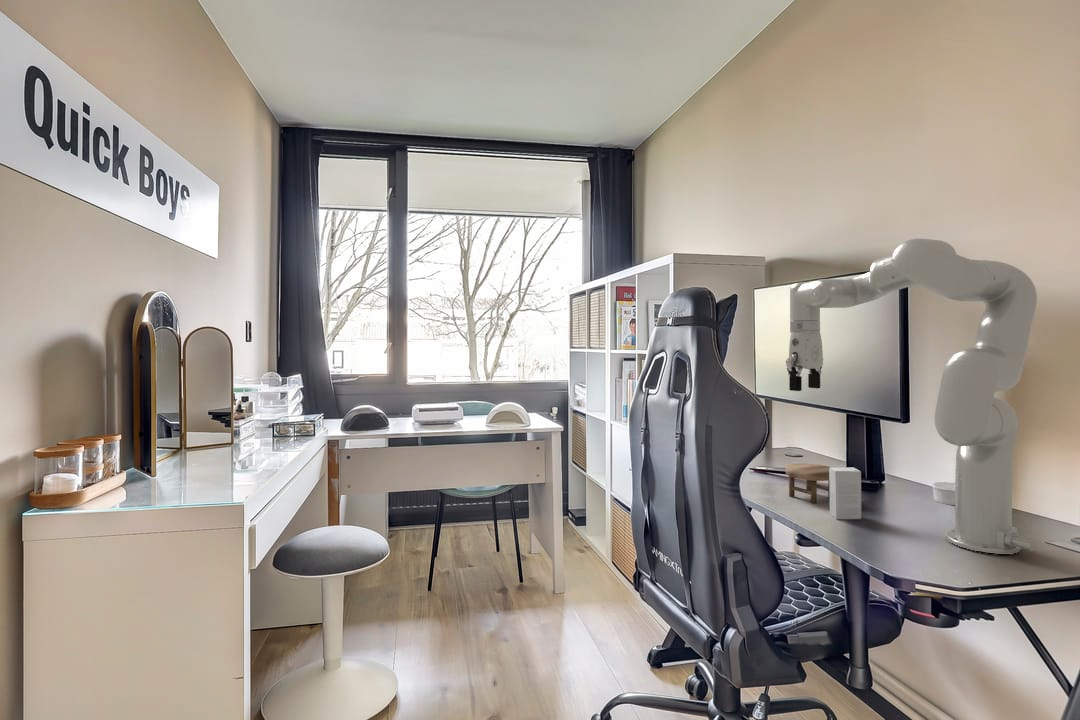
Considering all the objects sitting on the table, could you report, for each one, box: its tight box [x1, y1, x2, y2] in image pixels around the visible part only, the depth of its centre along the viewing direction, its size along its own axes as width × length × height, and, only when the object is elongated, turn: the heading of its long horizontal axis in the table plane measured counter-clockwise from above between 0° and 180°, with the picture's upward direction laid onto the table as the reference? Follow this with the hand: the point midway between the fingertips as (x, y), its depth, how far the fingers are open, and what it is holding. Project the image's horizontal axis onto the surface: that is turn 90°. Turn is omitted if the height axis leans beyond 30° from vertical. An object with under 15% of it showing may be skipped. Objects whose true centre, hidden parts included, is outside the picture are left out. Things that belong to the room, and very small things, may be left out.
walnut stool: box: [785, 463, 833, 505], centre depth 158 cm, size 13×13×8 cm
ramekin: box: [931, 481, 955, 506], centre depth 152 cm, size 9×9×4 cm
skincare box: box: [829, 466, 862, 520], centre depth 141 cm, size 6×4×12 cm
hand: (805, 389), depth 158 cm, fingers open, 9 cm apart
